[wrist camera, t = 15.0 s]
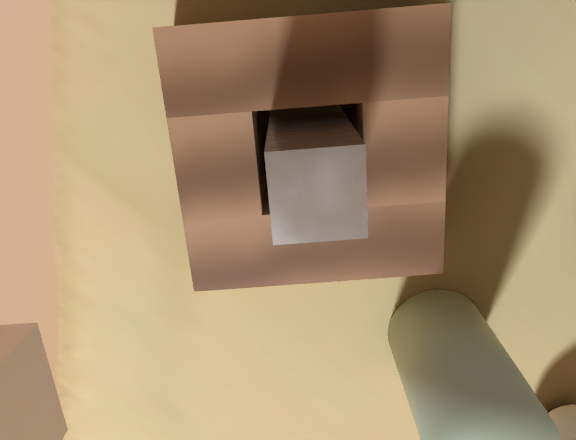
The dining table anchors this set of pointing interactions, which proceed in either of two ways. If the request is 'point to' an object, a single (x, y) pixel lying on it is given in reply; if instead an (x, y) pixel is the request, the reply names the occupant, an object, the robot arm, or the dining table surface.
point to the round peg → (461, 374)
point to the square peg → (315, 176)
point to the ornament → (565, 421)
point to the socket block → (308, 93)
